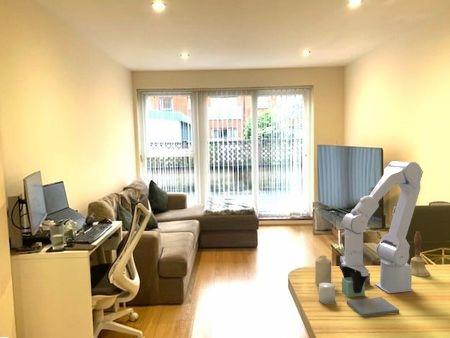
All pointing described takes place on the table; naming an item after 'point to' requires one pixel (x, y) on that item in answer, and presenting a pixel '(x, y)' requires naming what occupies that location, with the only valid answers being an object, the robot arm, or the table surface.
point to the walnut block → (367, 279)
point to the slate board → (372, 307)
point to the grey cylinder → (327, 293)
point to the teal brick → (350, 287)
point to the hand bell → (418, 259)
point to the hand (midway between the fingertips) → (353, 289)
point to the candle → (322, 270)
